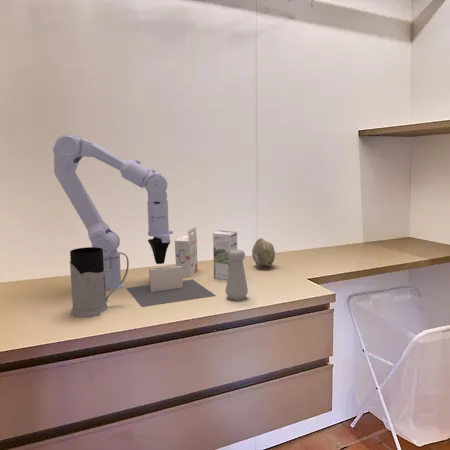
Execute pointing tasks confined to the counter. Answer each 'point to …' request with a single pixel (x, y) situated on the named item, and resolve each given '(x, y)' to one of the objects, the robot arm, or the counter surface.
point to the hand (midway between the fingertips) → (160, 263)
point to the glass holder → (89, 281)
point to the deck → (165, 278)
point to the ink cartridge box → (187, 253)
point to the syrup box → (223, 252)
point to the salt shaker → (236, 276)
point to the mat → (169, 294)
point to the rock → (263, 253)
